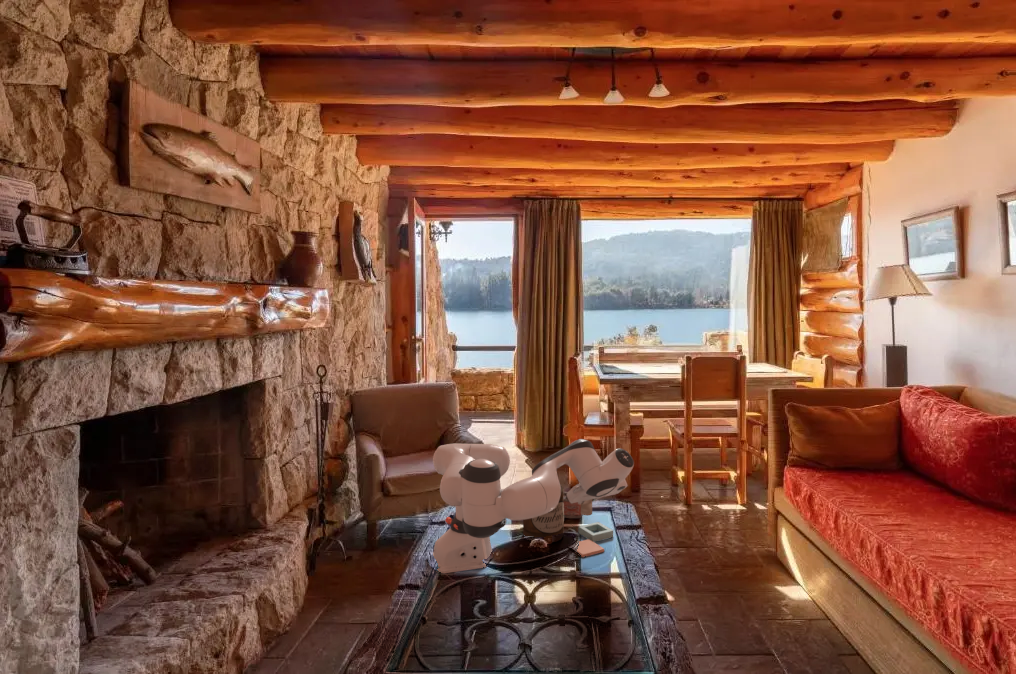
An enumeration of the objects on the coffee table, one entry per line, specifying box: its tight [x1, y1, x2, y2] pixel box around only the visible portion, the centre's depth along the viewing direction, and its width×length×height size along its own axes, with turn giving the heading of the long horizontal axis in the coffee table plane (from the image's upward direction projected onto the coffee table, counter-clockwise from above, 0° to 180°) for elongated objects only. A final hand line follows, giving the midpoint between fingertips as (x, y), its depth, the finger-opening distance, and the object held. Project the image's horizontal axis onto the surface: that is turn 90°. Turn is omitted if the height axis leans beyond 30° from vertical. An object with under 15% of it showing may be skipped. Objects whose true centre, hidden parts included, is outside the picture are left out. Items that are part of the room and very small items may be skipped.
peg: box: [581, 499, 593, 516], centre depth 210 cm, size 4×4×8 cm
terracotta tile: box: [577, 538, 605, 558], centre depth 212 cm, size 9×9×1 cm
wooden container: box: [522, 484, 565, 537], centre depth 222 cm, size 15×15×22 cm
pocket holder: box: [578, 521, 614, 543], centre depth 223 cm, size 9×9×2 cm
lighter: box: [563, 491, 583, 519], centre depth 241 cm, size 8×3×10 cm, turn 84°
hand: (586, 500), depth 210 cm, fingers closed on peg, 4 cm apart
